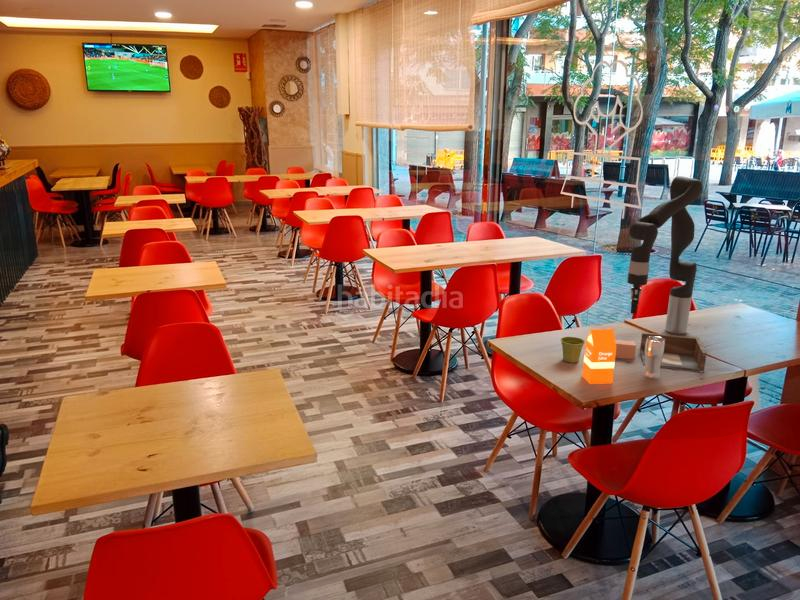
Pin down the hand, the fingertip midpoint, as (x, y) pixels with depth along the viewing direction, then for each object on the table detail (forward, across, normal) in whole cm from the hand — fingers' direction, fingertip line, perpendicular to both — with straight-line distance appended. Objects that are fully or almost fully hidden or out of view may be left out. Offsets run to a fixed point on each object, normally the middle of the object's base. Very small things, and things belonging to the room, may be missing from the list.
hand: (633, 310), depth 251 cm
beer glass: (+20, +20, +9) cm, 29 cm away
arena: (+19, 0, +16) cm, 25 cm away
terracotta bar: (+19, +1, -3) cm, 20 cm away
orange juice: (+20, +31, -10) cm, 39 cm away
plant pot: (+20, +15, -22) cm, 33 cm away
